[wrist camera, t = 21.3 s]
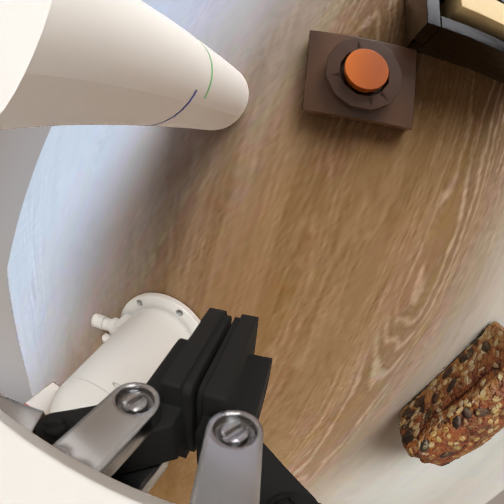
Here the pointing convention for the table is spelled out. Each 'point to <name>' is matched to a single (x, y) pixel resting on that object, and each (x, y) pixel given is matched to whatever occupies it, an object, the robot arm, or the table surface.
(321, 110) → the control block
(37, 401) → the cup
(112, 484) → the robot arm
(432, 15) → the toaster
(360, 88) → the button
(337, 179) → the table surface
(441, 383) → the bread
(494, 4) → the toast
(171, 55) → the cylindrical container
